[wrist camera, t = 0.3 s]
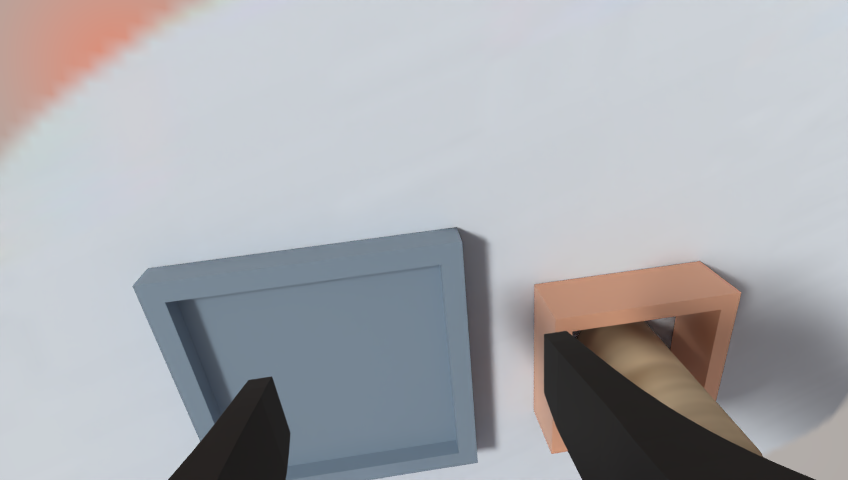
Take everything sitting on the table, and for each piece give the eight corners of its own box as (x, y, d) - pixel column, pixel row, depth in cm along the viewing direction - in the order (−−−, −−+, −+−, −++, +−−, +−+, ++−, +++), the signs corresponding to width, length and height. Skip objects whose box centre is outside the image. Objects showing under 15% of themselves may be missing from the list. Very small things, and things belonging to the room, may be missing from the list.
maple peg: (642, 363, 27) (751, 503, 19) (573, 374, 27) (656, 519, 19) (650, 304, 25) (774, 433, 17) (577, 315, 25) (669, 450, 17)
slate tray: (472, 441, 28) (477, 462, 27) (234, 478, 27) (226, 502, 26) (456, 227, 22) (462, 241, 20) (147, 268, 21) (132, 285, 20)
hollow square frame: (676, 388, 28) (709, 428, 25) (533, 410, 27) (551, 453, 25) (699, 261, 24) (741, 292, 21) (534, 284, 24) (555, 319, 21)
